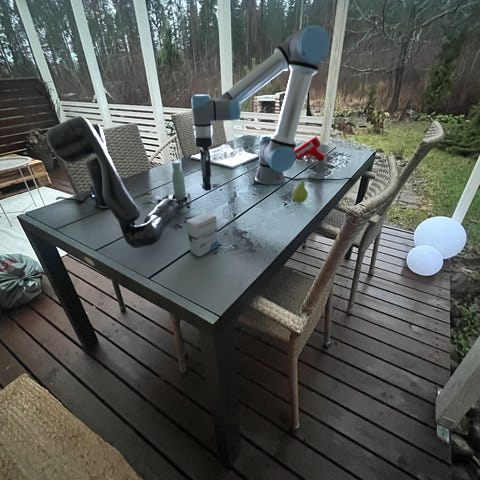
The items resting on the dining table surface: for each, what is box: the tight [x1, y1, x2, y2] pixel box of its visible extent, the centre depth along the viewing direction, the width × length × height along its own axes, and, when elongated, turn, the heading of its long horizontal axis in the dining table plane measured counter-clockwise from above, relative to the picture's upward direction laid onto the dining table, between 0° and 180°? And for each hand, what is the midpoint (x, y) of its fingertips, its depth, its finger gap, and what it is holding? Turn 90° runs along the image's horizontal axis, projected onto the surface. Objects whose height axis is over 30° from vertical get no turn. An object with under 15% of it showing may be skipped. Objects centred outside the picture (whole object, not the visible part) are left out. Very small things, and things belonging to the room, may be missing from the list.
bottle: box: [171, 160, 189, 215], centre depth 109 cm, size 5×5×21 cm
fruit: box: [291, 174, 311, 204], centre depth 118 cm, size 7×8×12 cm
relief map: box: [190, 143, 259, 169], centre depth 179 cm, size 27×35×5 cm
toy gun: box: [294, 135, 326, 164], centre depth 171 cm, size 18×4×15 cm
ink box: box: [185, 211, 219, 258], centre depth 87 cm, size 8×5×12 cm, turn 134°
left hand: (182, 194), depth 113 cm, fingers closed on bottle, 4 cm apart
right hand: (207, 188), depth 127 cm, fingers closed on cap, 4 cm apart
